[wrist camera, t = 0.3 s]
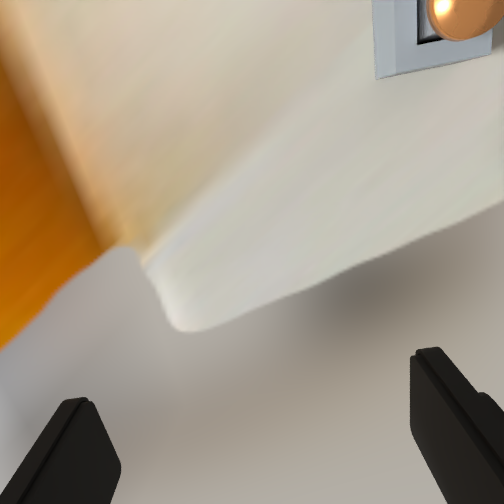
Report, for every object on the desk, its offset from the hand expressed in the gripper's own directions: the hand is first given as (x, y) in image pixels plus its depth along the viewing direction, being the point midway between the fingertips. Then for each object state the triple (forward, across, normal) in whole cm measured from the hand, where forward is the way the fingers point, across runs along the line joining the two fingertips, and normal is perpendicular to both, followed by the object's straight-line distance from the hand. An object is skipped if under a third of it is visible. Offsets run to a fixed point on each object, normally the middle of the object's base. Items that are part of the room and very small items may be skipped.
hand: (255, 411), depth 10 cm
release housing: (+30, -18, -13) cm, 38 cm away
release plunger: (+28, -18, -13) cm, 36 cm away
